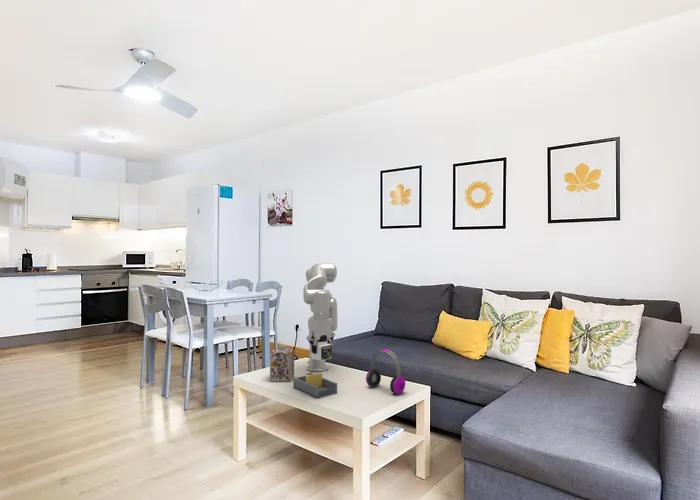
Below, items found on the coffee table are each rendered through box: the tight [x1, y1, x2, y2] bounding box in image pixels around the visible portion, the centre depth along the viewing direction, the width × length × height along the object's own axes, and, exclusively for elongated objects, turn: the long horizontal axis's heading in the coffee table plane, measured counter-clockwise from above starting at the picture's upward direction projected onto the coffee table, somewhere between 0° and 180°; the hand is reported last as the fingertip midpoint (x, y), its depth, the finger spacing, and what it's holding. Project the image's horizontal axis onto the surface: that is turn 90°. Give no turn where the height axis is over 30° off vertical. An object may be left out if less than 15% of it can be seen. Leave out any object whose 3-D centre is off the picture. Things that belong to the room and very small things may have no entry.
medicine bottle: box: [311, 335, 332, 361], centre depth 210 cm, size 7×7×12 cm
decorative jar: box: [269, 344, 295, 383], centre depth 234 cm, size 12×12×18 cm
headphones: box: [365, 348, 407, 395], centre depth 214 cm, size 21×9×20 cm, turn 45°
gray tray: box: [292, 375, 338, 399], centre depth 213 cm, size 21×12×5 cm, turn 39°
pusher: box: [305, 371, 323, 387], centre depth 215 cm, size 5×9×7 cm, turn 129°
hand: (321, 351), depth 210 cm, fingers closed on medicine bottle, 7 cm apart
